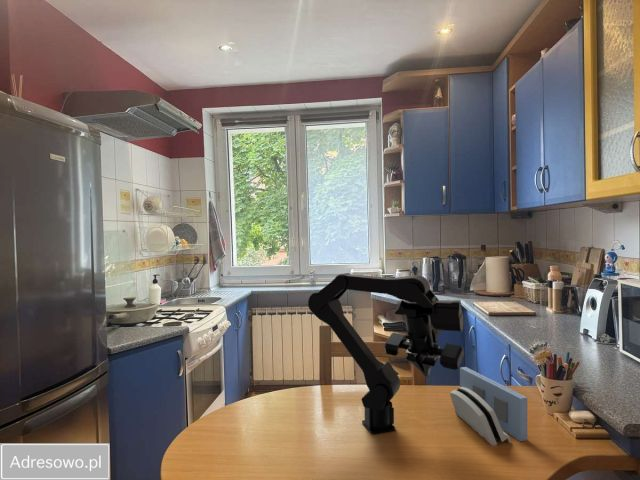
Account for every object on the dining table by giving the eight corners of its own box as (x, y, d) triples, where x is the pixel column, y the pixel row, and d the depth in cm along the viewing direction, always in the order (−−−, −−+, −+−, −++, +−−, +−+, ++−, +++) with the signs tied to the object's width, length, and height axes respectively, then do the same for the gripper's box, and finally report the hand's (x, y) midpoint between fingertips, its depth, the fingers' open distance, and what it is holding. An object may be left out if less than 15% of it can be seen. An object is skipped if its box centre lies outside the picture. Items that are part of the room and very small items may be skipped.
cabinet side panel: (518, 441, 92) (518, 399, 91) (458, 402, 113) (458, 367, 112) (527, 439, 92) (527, 397, 92) (465, 401, 113) (465, 366, 113)
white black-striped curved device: (512, 443, 91) (499, 404, 90) (494, 452, 90) (481, 413, 89) (472, 411, 107) (460, 377, 106) (457, 418, 107) (445, 384, 106)
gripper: (467, 312, 96) (473, 362, 102) (396, 302, 107) (405, 347, 113) (453, 342, 88) (460, 393, 94) (378, 327, 99) (389, 374, 105)
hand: (427, 375), depth 102 cm, fingers closed
